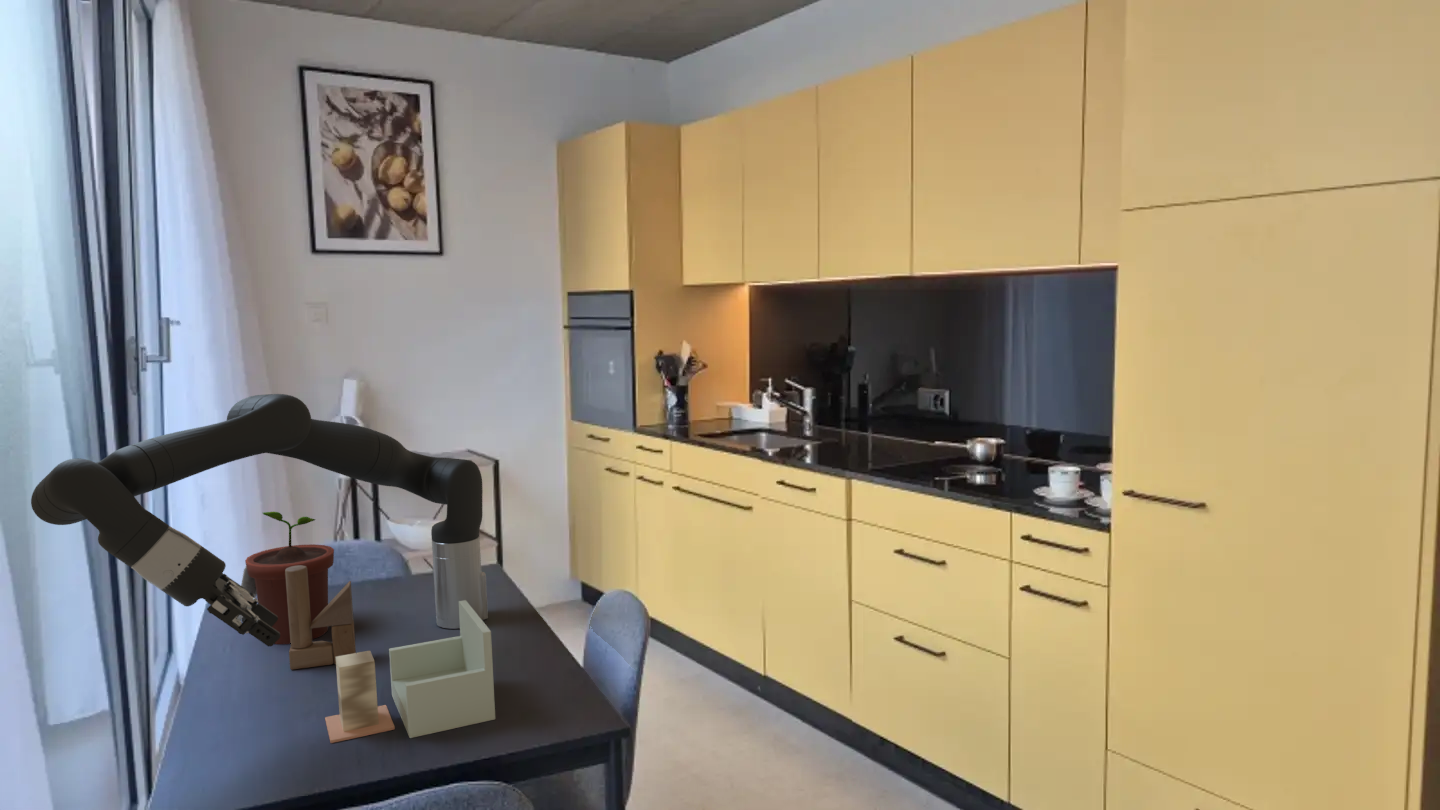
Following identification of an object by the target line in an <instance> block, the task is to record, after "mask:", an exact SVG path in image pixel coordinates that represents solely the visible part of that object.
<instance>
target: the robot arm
mask: <svg viewBox="0 0 1440 810" xmlns="http://www.w3.org/2000/svg"><path fill="white" fill-rule="evenodd" d="M261 454H271V455H277V456H280V457H281V456H283V457H289V458H292V459H295V460H296V459H297V460H299V461H300V460H301V461H303V462H306V463H308V464H311V465H313V466H316V467H318V468H321V469H324V470H327V471H330V472H333V473H336V474H339V475H342V476H345V477H348V478H351V479H355V480H358V481H361V482H365V483H369V484H374V485H379V486H383V487H393V488H399V489H402V490H405V491H406V492H409V493H411V494H413V495H416V496H418V497H420V498H423V499H425V500H426V501H429V502H432V503H435V504H439V505H440V504H441V505H446V517H445V519H444V520H441V521H439V522H436V523H435V524H433V525H432V527H431V535H430V536H431V551H432V566H433V570H432V571H433V585H434V586H433V587H434V601H435V602H434V603H435V604H434V605H435V619H436V625H437V626H438V627H440V628H443V629H454V630H456V629H460V620H459V601H464V600H466V601H467V602H468V604H469V605H470V606H471V607H472V609H473V610H474V611H475V612H476V613H477V615H478V616H479V617H480V618H481V620H482V621H483V622H484V620H486V619H489V611H488V595H487V593H488V592H487V576H486V572H485V571H482V559H481V557H482V556H481V542H480V541H481V540H480V536H481V535H480V528H481V526H482V522H483V491H484V490H483V479H482V478H483V477H482V474H481V473H482V472H481V471H480V468H479V466H478V465H477V463H475V462H474V461H472V460H469V459H465V458H453V457H452V458H451V457H438V456H437V457H436V456H429V455H425V454H420V453H416V452H413V451H410V450H408V449H407V448H406V447H405V446H404V445H403V444H402V443H401V442H400V441H399V440H397V439H395V438H394V437H392V436H390V435H388V434H385V433H384V432H383V433H382V432H380V431H376V430H374V429H371V428H369V427H366V426H361V425H357V424H356V425H355V424H350V423H343V422H337V421H336V422H335V421H328V420H321V419H320V420H319V419H314V418H312V416H311V412H310V410H309V408H308V406H307V405H306V404H305V403H304V401H302V400H301V399H300V398H298V397H296V396H294V395H289V394H284V393H271V394H257V395H251V396H248V397H245V398H243V399H241V400H239V401H237V402H236V403H235V404H234V405H233V406H232V407H231V408H230V410H229V411H228V412H227V416H226V420H224V421H221V422H217V423H212V424H208V425H204V426H199V427H194V428H189V429H185V430H180V431H175V432H171V433H166V434H163V435H159V436H155V437H151V438H149V439H145V440H142V441H138V442H136V443H132V444H130V445H127V446H123V447H121V448H119V449H117V450H115V451H113V452H111V453H110V454H108V455H106V457H104V458H103V459H101V460H99V461H97V462H95V461H92V460H89V459H85V458H69V459H65V460H63V461H62V462H60V463H59V464H57V465H56V466H55V467H54V468H53V469H52V470H51V471H50V472H49V473H47V475H46V476H45V477H44V478H42V479H41V481H40V482H39V483H38V484H37V485H36V486H35V488H34V489H33V492H32V494H31V498H30V505H31V510H32V511H33V512H34V514H35V516H36V517H38V518H39V519H40V520H41V521H43V522H45V523H48V524H51V525H57V526H67V525H73V524H76V523H77V524H78V523H80V522H82V521H86V520H87V521H88V522H89V523H90V524H91V525H92V526H93V527H94V528H96V530H98V532H99V534H98V537H97V542H98V544H99V545H100V547H101V548H102V549H103V550H104V551H106V552H107V553H109V554H110V555H112V556H113V557H114V558H116V559H117V560H119V561H120V562H122V563H123V564H125V565H126V566H128V567H130V569H132V570H134V571H135V572H136V574H138V575H139V576H140V577H141V578H143V579H144V580H145V581H147V582H148V583H149V584H151V585H152V586H154V587H155V588H157V589H159V590H160V591H162V592H163V593H164V594H165V595H168V596H169V597H170V598H172V599H174V600H176V602H178V603H179V604H181V605H182V606H184V607H190V606H193V605H195V604H196V603H197V602H198V601H199V600H201V599H202V600H204V601H205V602H206V603H207V604H209V606H208V607H207V608H206V610H207V612H208V613H209V614H211V615H213V616H215V617H216V618H217V619H219V621H222V622H223V623H224V624H226V625H227V626H229V627H230V628H231V629H233V630H235V631H236V632H237V633H238V635H242V636H244V635H245V634H248V635H250V636H253V638H255V639H257V640H258V641H260V642H261V643H263V644H264V645H266V646H267V647H272V646H274V645H275V644H274V643H275V642H276V641H277V640H278V639H279V638H280V632H278V631H277V630H275V629H274V628H273V627H272V626H273V625H274V624H275V623H276V622H277V620H278V617H277V615H275V614H274V613H272V612H271V611H270V610H268V609H267V608H265V607H264V606H262V605H261V604H260V603H258V598H257V597H254V594H253V593H252V592H250V591H248V590H247V589H245V588H244V587H242V586H241V584H240V583H238V582H236V581H235V580H233V578H230V577H229V576H228V575H227V574H225V573H224V571H225V570H226V566H227V565H226V562H225V561H224V560H223V559H221V558H219V557H218V556H217V555H215V554H214V553H212V552H211V551H210V550H208V549H207V548H205V547H204V546H202V545H201V544H199V542H197V541H195V540H194V539H192V538H191V537H190V536H188V535H186V534H185V533H184V532H181V531H179V530H177V529H176V528H174V527H172V526H171V525H169V524H167V522H165V521H163V520H162V519H161V518H159V517H157V516H156V515H155V514H154V513H151V512H150V511H148V510H147V509H145V507H143V506H142V504H141V503H140V502H139V501H138V500H137V496H140V495H143V494H147V493H149V492H153V491H155V490H157V489H160V488H163V487H166V486H168V485H171V484H174V483H176V482H179V481H182V480H185V479H187V478H189V477H192V476H194V475H198V474H200V473H202V472H205V471H207V470H210V469H213V468H217V467H219V466H222V465H225V464H227V463H231V462H235V461H238V460H242V459H247V458H249V457H253V456H254V457H255V456H258V455H261ZM243 617H244V618H246V620H245V621H244V622H242V618H243Z"/></svg>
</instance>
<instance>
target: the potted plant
mask: <svg viewBox="0 0 1440 810" xmlns="http://www.w3.org/2000/svg"><path fill="white" fill-rule="evenodd" d="M262 514H263V515H264V516H265V517H266V516H267V517H270V518H271V519H274V520H276V521H279V522H283V523H284V524H286V525H287V526H288V545H286V546H280V547H274V548H270V549H266V550H261V551H259V552H258V551H257V552H256V553H253V554H251V555H249V556H247V557H246V559H245V567H244V568H243V571H242V572H243V573H242V577H241V578H242V579H241V584H240V585H241V586H242V587H244V588H245V589H247V590H248V591H250V592H252V593H253V594H254V597H255V598H256V599H257V600H258V603H260V604H261V605H262V606H264V607H265V608H267V609H268V610H270V611H271V612H272V613H274V614H275V615H277V617H278V620H277V622H276V623H275V624H274V625H273V626H272V627H273V628H274V629H275V630H277V631H278V632H280V638H279V639H278V640H277V641H276V642H275V644H274V645H291V644H290V629H289V616H288V603H287V589H286V576H285V570H286V568H288V567H291V566H297V565H303V566H306V567H307V573H308V587H309V601H310V615H311V623H312V621H313V620H314V619H315V618H316V617H317V616H318V615H319V614H320V612H321V611H322V610H323V609H324V608H325V607H326V606H327V605H328V604H329V569H330V568H331V567H333V565H334V563H335V562H334V561H335V560H334V559H335V556H334V555H335V549H334V548H333V547H332V546H329V545H325V544H311V543H310V544H294V545H292V530H293V528H294V527H296V526H302V525H306V524H309V523H310V522H315V520H316V519H314V518H311V517H309V516H302V517H301V516H300V517H299V518H298V519H297V521H296V522H297V523H296V524H292V525H291V523H290V522H289V521H287V520H285V519H283V514H281V512H279V511H265V512H262ZM258 603H257V604H258ZM245 620H246V618H244V617H243V618H242V619H241V622H242V623H243V622H244V621H245ZM328 630H329V626H328V627H320V628H312V640H314V639H317V638H319V637H321V636H324V635H325V634H326V633H327V632H328Z"/></svg>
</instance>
